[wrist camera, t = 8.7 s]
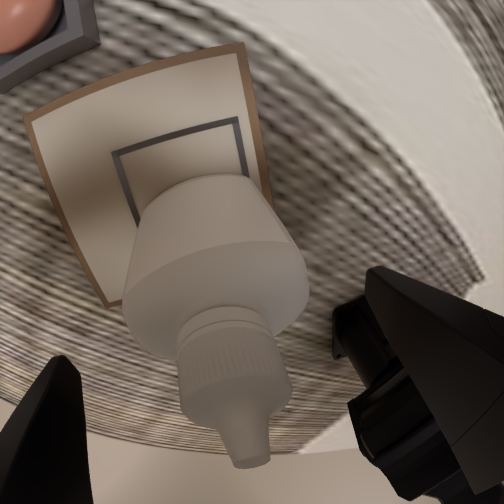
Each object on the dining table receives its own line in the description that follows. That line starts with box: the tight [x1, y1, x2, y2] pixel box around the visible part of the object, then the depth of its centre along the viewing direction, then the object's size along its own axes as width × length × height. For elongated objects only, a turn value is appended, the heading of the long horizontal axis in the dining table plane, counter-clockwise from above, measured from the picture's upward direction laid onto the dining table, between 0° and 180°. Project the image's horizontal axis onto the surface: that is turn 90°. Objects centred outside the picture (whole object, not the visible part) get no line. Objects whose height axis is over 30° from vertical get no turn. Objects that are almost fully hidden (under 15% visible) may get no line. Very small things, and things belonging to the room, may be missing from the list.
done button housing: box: [0, 0, 101, 94], centre depth 7 cm, size 6×6×3 cm
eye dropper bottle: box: [122, 174, 310, 469], centre depth 10 cm, size 4×6×12 cm
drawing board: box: [23, 42, 274, 308], centre depth 14 cm, size 12×11×2 cm
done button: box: [0, 0, 63, 54], centre depth 6 cm, size 4×4×2 cm
